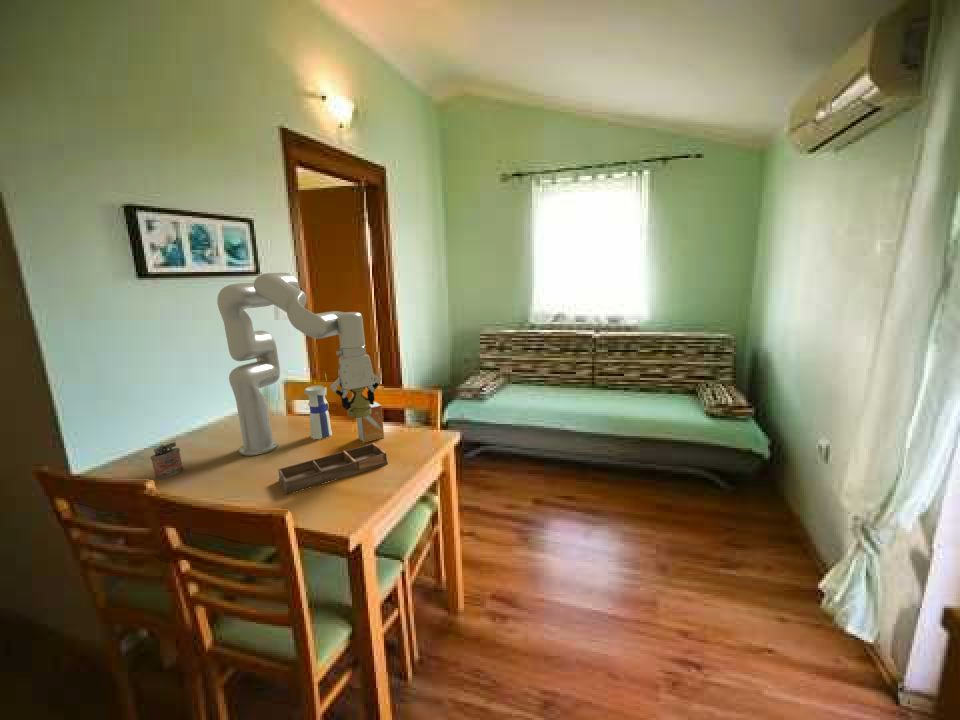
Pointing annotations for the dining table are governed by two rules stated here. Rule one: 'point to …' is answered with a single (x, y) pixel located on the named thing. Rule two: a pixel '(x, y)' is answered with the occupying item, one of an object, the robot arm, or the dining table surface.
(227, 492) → the dining table surface
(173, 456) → the lighter
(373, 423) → the small box
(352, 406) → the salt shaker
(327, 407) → the water bottle
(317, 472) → the wooden compartment tray
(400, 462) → the dining table surface
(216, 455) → the dining table surface
